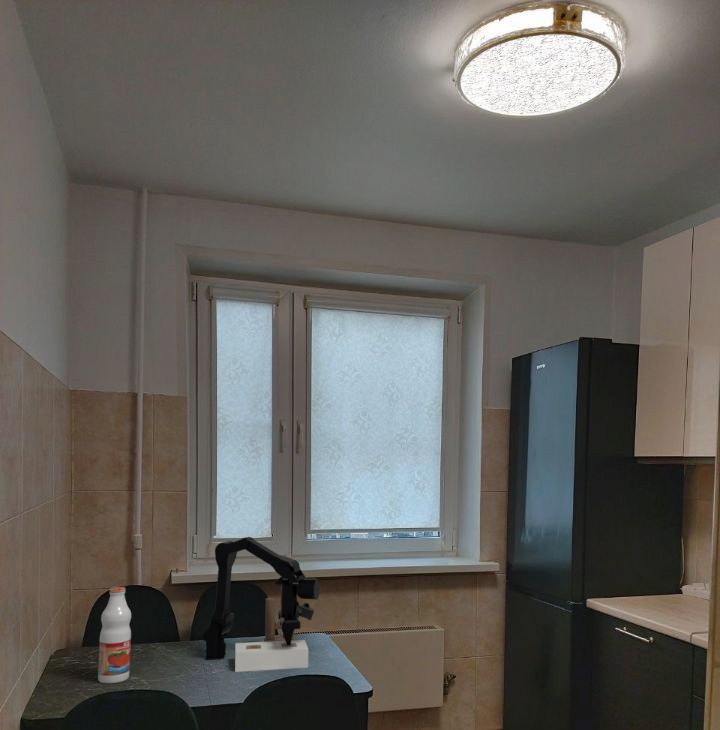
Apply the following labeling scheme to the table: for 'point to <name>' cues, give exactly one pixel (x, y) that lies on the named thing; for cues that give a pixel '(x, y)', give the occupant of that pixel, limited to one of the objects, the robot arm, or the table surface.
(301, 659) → the white peg base
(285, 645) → the right peg
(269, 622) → the wooden block
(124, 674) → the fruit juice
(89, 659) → the table surface
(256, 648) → the left peg
